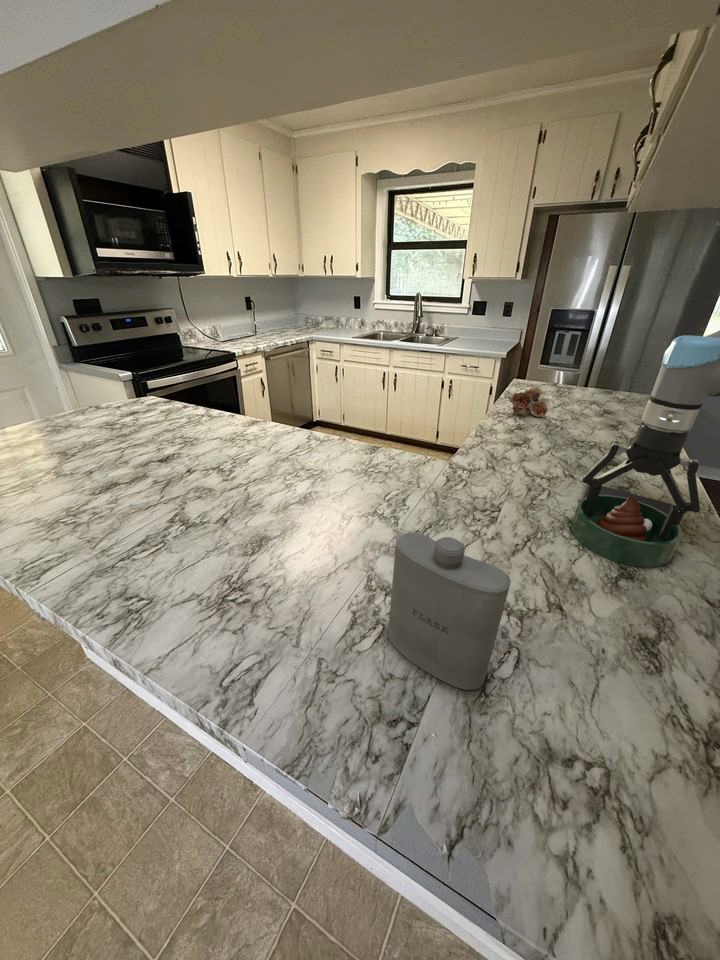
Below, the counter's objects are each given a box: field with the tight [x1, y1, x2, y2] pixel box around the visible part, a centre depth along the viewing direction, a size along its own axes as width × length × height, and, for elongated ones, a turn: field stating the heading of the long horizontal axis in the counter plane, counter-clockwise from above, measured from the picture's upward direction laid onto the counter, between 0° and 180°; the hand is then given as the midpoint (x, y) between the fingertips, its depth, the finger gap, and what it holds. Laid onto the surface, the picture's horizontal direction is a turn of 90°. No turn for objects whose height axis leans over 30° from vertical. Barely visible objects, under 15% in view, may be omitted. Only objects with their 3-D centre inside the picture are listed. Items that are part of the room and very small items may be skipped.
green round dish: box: [570, 495, 684, 569], centre depth 82 cm, size 18×18×6 cm
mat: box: [582, 484, 672, 515], centre depth 97 cm, size 18×12×1 cm, turn 55°
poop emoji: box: [597, 497, 652, 542], centre depth 81 cm, size 10×8×9 cm
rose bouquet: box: [508, 386, 548, 418], centre depth 156 cm, size 13×16×15 cm
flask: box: [387, 531, 512, 691], centre depth 52 cm, size 15×6×20 cm, turn 52°
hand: (624, 524), depth 82 cm, fingers open, 12 cm apart
